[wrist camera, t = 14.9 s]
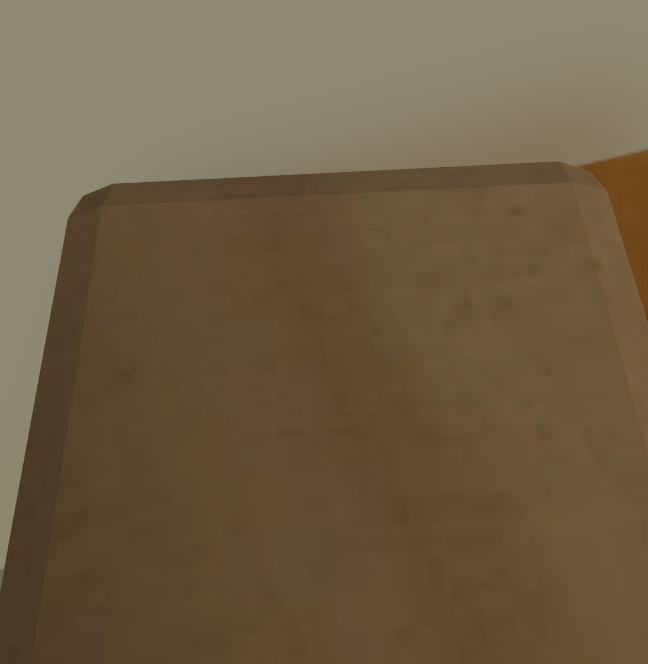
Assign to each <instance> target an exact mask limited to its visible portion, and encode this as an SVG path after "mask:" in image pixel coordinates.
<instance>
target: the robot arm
mask: <svg viewBox="0 0 648 664" xmlns="http://www.w3.org/2000/svg"><path fill="white" fill-rule="evenodd" d="M3 573H4V569H2V570H0V589H1V584H2V578H3Z"/></svg>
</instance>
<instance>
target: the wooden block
mask: <svg viewBox="0 0 648 664" xmlns="http://www.w3.org/2000/svg"><path fill="white" fill-rule="evenodd" d="M0 664H648V322H647V319H646V316H645V312H644V309H643V306H642V303H641V299H640V296H639V293H638V290H637V286H636V283H635V280H634V277H633V273H632V270H631V267H630V264H629V260H628V257H627V254H626V251H625V247H624V244H623V241H622V238H621V234H620V231H619V228H618V225H617V221H616V218H615V215H614V212H613V208H612V205H611V202H610V199H609V195H608V192H607V190H606V189H605V188H604V187H603V186H602V185H601V184H600V183H599V181H598V180H597V179H596V178H595V177H594V176H593V175H592V173H591V172H590V171H589V170H585V169H582V168H578V167H575V166H571V165H568V164H564V163H561V162H540V163H520V164H500V165H480V166H463V167H462V166H461V167H440V168H420V169H400V170H380V171H360V172H340V173H320V174H302V175H301V174H300V175H281V176H262V177H261V176H260V177H240V178H221V179H201V180H180V181H162V182H161V181H160V182H141V183H121V184H112V185H109V186H106V187H104V188H101V189H99V190H97V191H94V192H92V193H89V194H87V195H84V196H83V197H82V198H81V200H80V201H79V203H78V204H77V206H76V208H75V209H74V210H73V212H72V213H71V215H70V216H69V218H68V222H67V227H66V233H65V238H64V244H63V249H62V255H61V261H60V267H59V272H58V277H57V282H56V288H55V293H54V299H53V304H52V310H51V315H50V321H49V326H48V332H47V338H46V343H45V348H44V354H43V359H42V365H41V370H40V375H39V381H38V386H37V392H36V397H35V403H34V409H33V414H32V420H31V425H30V430H29V436H28V442H27V447H26V452H25V458H24V463H23V469H22V475H21V480H20V485H19V491H18V496H17V502H16V507H15V513H14V518H13V524H12V529H11V535H10V540H9V545H8V551H7V557H6V562H5V567H4V573H3V578H2V584H1V589H0Z"/></svg>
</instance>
